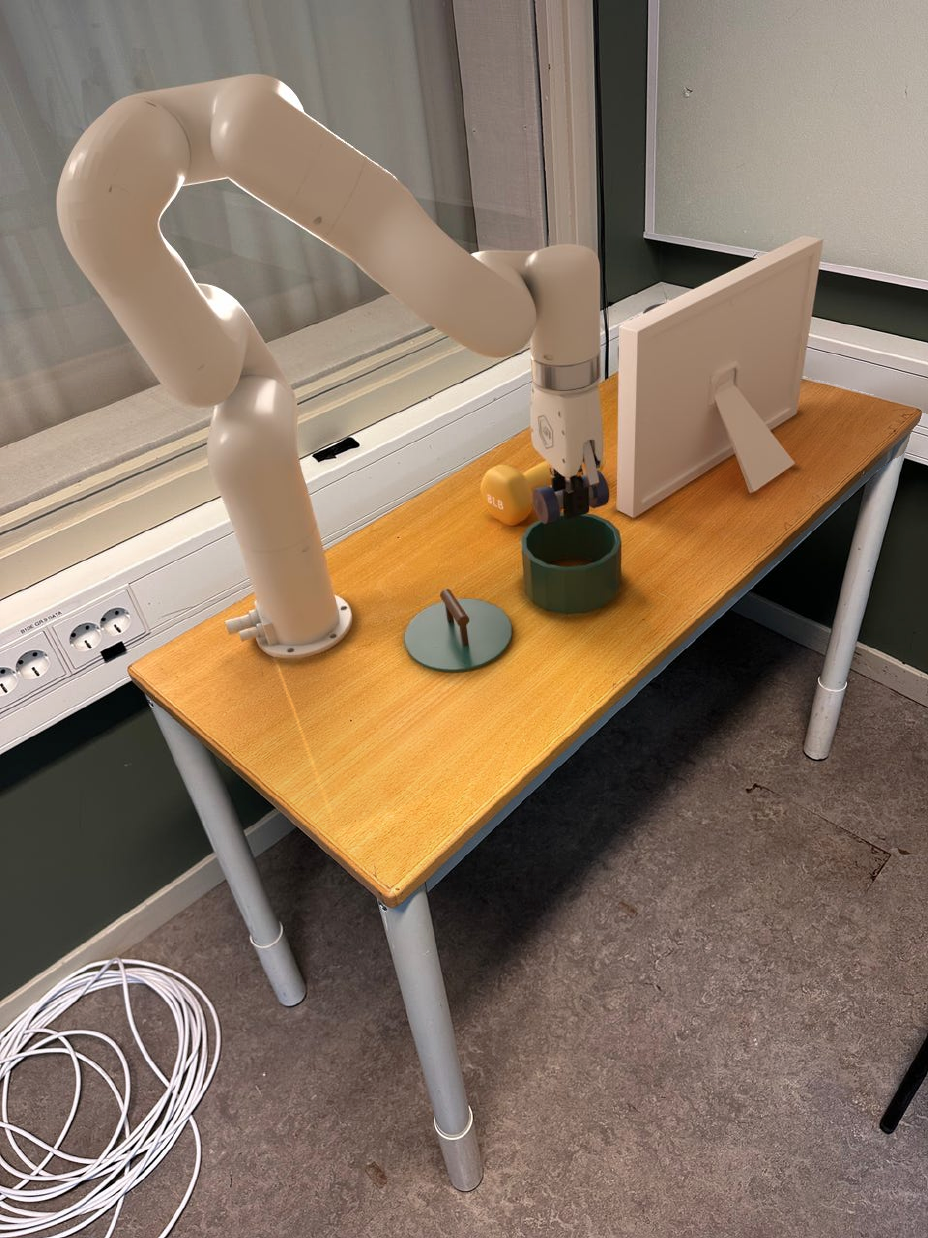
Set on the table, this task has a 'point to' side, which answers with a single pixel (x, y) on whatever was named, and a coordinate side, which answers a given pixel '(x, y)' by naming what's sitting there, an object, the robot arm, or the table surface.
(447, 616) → the lid
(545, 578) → the pot
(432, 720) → the table surface
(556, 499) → the toy dumbbell
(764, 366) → the picture frame
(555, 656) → the table surface
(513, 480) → the dumbbell
